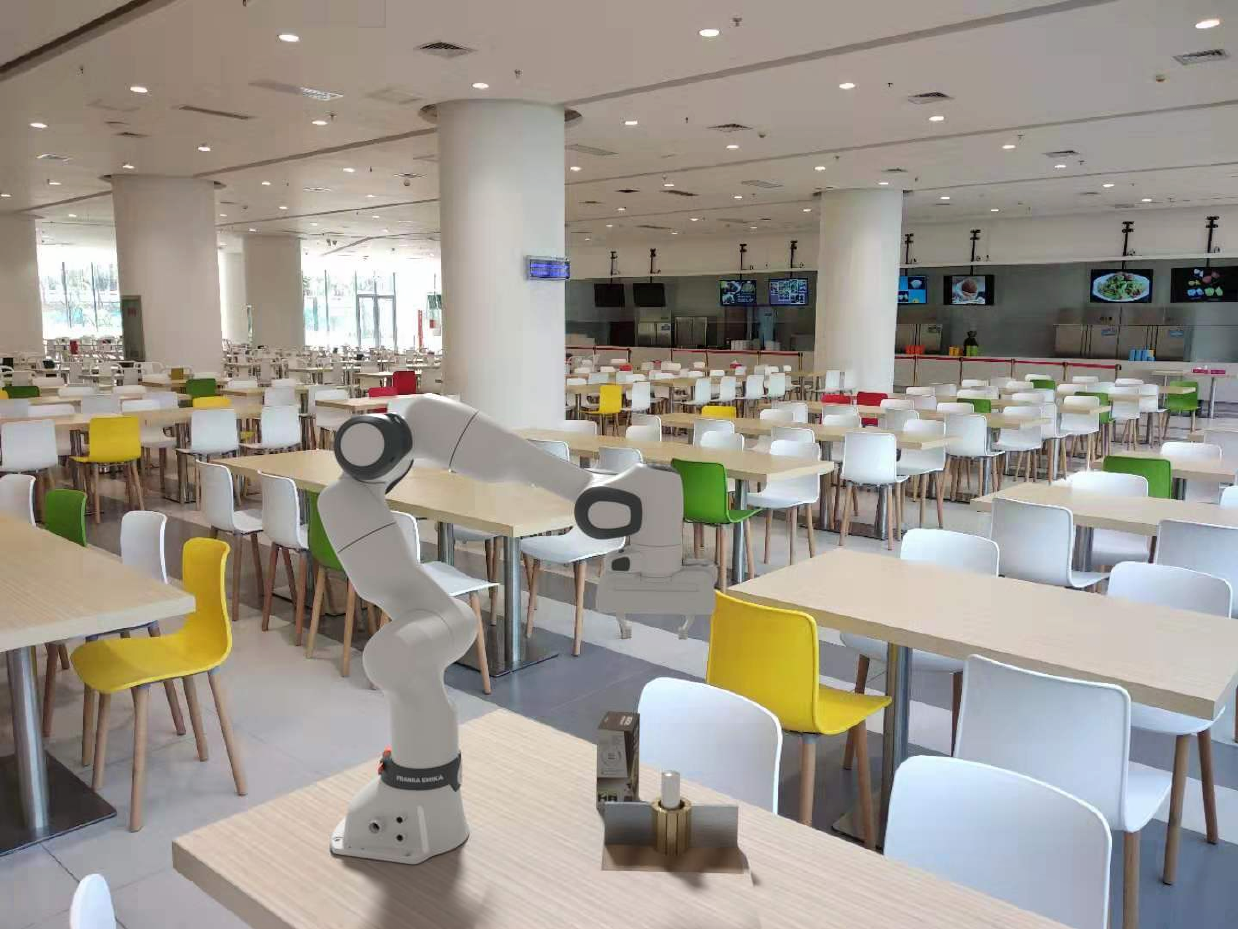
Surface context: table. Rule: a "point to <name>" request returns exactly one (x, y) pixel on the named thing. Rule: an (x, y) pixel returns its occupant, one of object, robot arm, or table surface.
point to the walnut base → (671, 859)
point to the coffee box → (618, 758)
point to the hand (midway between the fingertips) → (654, 638)
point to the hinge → (671, 825)
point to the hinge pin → (670, 790)
